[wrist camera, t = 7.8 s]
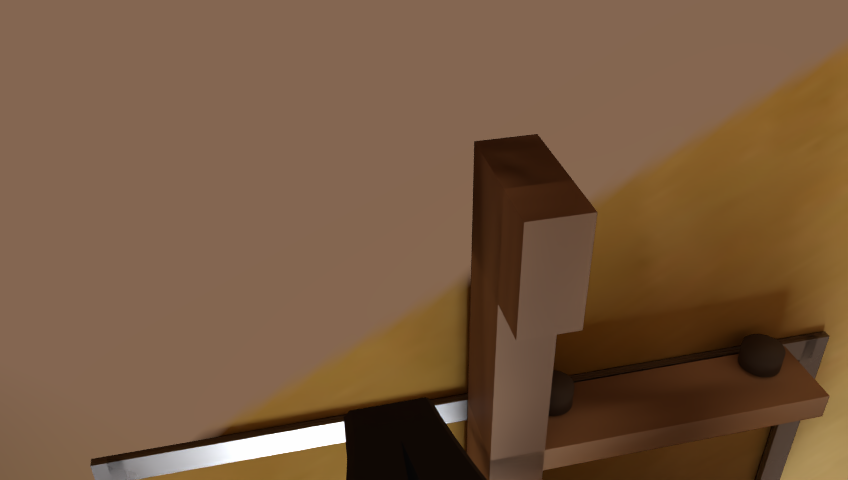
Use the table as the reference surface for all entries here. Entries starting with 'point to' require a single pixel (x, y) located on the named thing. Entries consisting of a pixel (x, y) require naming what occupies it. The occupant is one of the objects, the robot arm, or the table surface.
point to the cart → (564, 312)
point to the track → (123, 469)
